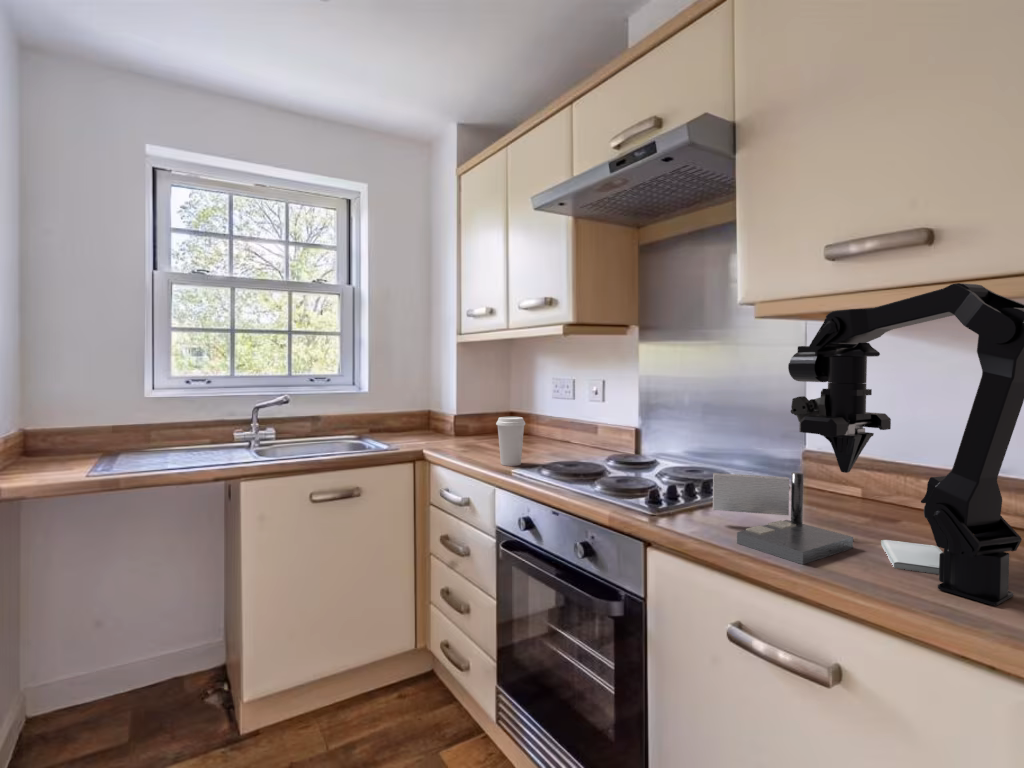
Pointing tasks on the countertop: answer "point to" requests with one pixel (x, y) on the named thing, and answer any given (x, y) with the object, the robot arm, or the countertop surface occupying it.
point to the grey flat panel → (751, 493)
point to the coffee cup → (510, 440)
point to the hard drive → (912, 556)
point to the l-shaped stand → (795, 534)
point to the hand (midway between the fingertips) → (845, 472)
